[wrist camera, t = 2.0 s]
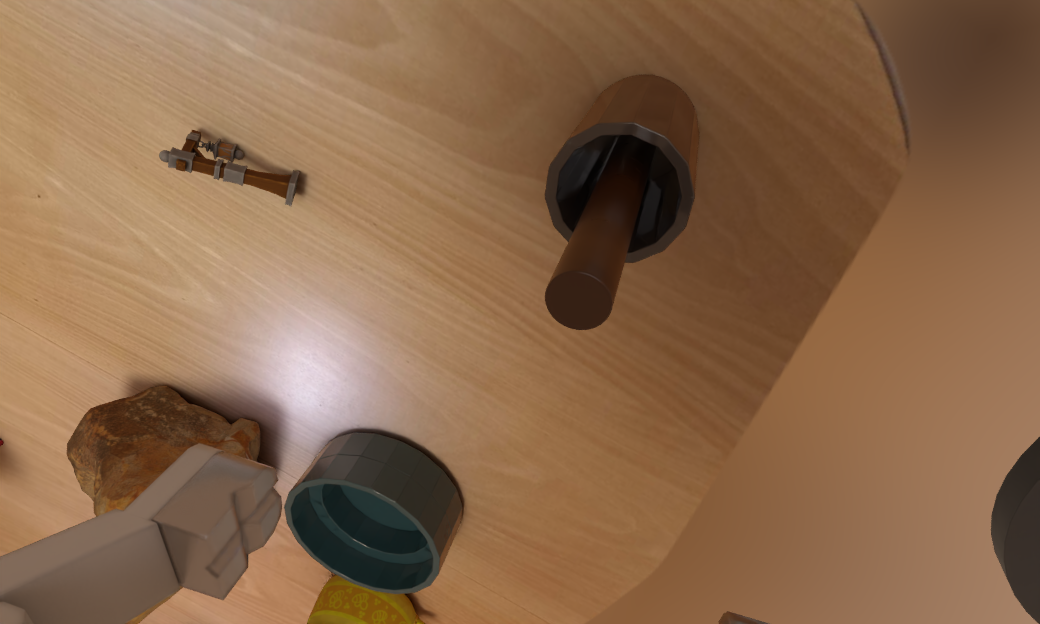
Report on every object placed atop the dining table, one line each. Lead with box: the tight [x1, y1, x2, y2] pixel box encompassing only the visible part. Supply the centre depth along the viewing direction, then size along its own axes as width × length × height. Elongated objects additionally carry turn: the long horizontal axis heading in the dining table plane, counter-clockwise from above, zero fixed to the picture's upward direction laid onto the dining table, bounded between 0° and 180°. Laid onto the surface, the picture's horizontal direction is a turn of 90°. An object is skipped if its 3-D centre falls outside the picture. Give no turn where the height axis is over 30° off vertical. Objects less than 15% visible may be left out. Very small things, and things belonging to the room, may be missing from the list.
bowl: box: [284, 433, 462, 594], centre depth 52 cm, size 14×14×6 cm
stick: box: [545, 135, 656, 330], centre depth 25 cm, size 2×2×18 cm
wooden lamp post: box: [159, 130, 299, 207], centre depth 39 cm, size 2×8×4 cm, turn 67°
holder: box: [545, 75, 699, 263], centre depth 28 cm, size 6×6×10 cm
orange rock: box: [67, 386, 260, 624], centre depth 53 cm, size 23×17×15 cm
